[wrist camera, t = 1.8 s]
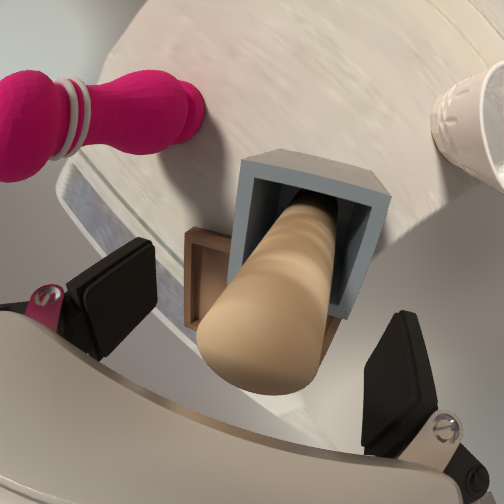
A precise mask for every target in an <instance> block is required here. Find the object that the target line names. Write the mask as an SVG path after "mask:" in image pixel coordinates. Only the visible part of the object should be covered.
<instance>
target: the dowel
mask: <svg viewBox="0 0 504 504" xmlns="http://www.w3.org/2000/svg"><path fill="white" fill-rule="evenodd" d="M337 216H338V202H337V199H336V197H335V196H332V195H328V194H324V193H320V192H316V191H312V190H308V189H304V188H301V189H300V190H299V191H298V192H297V194H296V195H295V196H294V198H293V199H292V200H291V202H290V203H289V204H288V206H287V207H286V208H285V210H284V211H283V212H282V214H281V215H280V216H279V218H278V219H277V220H276V222H275V223H274V224H273V226H272V227H271V228H270V230H269V231H268V232H267V234H266V235H265V236H264V238H263V239H262V241H261V242H260V243H259V245H258V246H257V247H256V249H255V250H254V251H253V253H252V254H251V255H250V257H249V258H248V259H247V261H246V262H245V263H244V265H243V266H242V267H241V269H240V270H239V271H238V273H237V274H236V275H235V277H234V278H233V279H232V281H231V282H230V283H229V285H228V286H227V287H226V289H225V290H224V291H223V293H222V294H221V295H220V297H219V298H218V299H217V301H216V302H215V303H214V305H213V306H212V307H211V309H210V310H209V311H208V313H207V314H206V315H205V317H204V318H203V319H202V321H201V322H200V324H199V326H198V329H197V334H196V340H197V346H198V349H199V351H200V354H201V356H202V357H203V359H204V361H205V362H206V363H207V365H208V366H209V367H210V368H211V369H212V370H213V371H214V372H215V373H216V374H217V375H219V376H220V377H221V378H223V379H224V380H225V381H227V382H229V383H230V384H232V385H234V386H236V387H238V388H240V389H243V390H246V391H249V392H252V393H256V394H261V395H273V396H275V395H286V394H290V393H294V392H297V391H299V390H301V389H303V388H305V387H306V386H307V385H309V384H310V383H311V382H312V381H313V379H314V377H315V376H316V374H317V371H318V367H319V361H320V356H321V350H322V345H323V339H324V333H325V326H326V320H327V313H328V306H329V298H330V290H331V282H332V273H333V264H334V254H335V243H336V230H337Z"/></svg>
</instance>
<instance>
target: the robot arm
mask: <svg viewBox="0 0 504 504" xmlns="http://www.w3.org/2000/svg"><path fill="white" fill-rule="evenodd" d="M66 286H67V290H68V291H67V292H66V293H64V290H63V288H62V287H60V286H58V285H54V284H50V285H45V286H42V287H40V288H38V289H37V290H36V291H35V292H34V293H33V294H32V296H31V298H30V301H27V302H18V303H8V304H0V504H496V502H495V500H494V497H493V495H492V493H491V491H490V492H488V493H487V489H488V487H489V474H488V471H487V470H486V468H485V467H484V466H483V465H482V464H481V463H480V462H479V461H478V460H477V459H476V458H475V457H474V456H473V455H472V454H471V453H470V452H469V451H468V450H467V449H466V448H465V447H464V446H463V445H462V444H461V443H460V442H461V439H462V437H463V427H462V423H461V421H460V419H459V418H458V417H457V416H456V415H455V414H454V413H453V412H451V411H449V410H438V406H437V403H438V400H437V395H436V389H435V384H434V380H433V375H432V371H431V366H430V362H429V358H428V354H427V350H426V346H425V342H424V339H423V335H422V332H421V328H420V325H419V322H418V318H417V315H416V314H415V313H412V312H409V311H405V310H401V311H400V312H399V313H395V314H394V315H393V317H392V319H391V321H390V323H389V324H388V326H387V328H386V330H385V332H384V334H383V335H382V337H381V339H380V341H379V343H378V344H377V346H376V348H375V349H374V351H373V353H372V354H371V356H370V358H369V359H368V361H367V363H366V365H365V368H364V400H363V401H364V402H363V422H362V437H361V446H363V447H365V449H364V455H357V454H350V453H343V452H336V451H331V450H326V449H320V448H315V447H309V446H305V445H300V444H296V443H291V442H287V441H283V440H279V439H275V438H272V437H268V436H265V435H261V434H257V433H254V432H251V431H248V430H245V429H241V428H239V427H236V426H233V425H230V424H227V423H224V422H221V421H218V420H215V419H213V418H211V417H208V416H205V415H203V414H200V413H198V412H195V411H193V410H191V409H188V408H186V407H184V406H181V405H179V404H177V403H175V402H172V401H170V400H168V399H166V398H164V397H161V396H159V395H157V394H156V393H153V392H152V391H149V390H148V389H146V388H144V387H142V386H140V385H138V384H136V383H134V382H132V381H131V380H129V379H127V378H125V377H123V376H122V375H120V374H118V373H117V372H115V371H113V370H111V369H110V368H108V367H106V366H105V365H103V364H102V363H100V362H99V361H100V360H101V359H102V358H103V357H107V356H108V355H109V354H110V353H111V352H112V351H113V350H114V349H115V348H116V347H117V346H118V345H119V344H120V343H121V342H122V341H123V340H124V339H125V338H126V336H127V335H128V334H129V333H130V332H131V331H132V330H133V329H134V328H135V327H136V326H137V325H138V324H139V323H140V322H141V321H142V320H143V319H144V318H145V317H146V316H147V315H148V314H149V313H150V312H151V311H152V310H153V309H154V308H155V306H156V304H157V301H158V298H157V283H156V263H155V247H154V245H152V242H151V241H150V240H147V239H144V238H141V237H137V238H135V239H133V240H132V241H130V242H128V243H127V244H125V245H124V246H122V247H120V248H119V249H117V250H116V251H114V252H112V253H111V254H109V255H108V256H106V257H105V258H103V259H102V260H100V261H99V262H97V263H96V264H94V265H93V266H91V267H90V268H88V269H87V270H85V271H84V272H82V273H81V274H79V275H78V276H76V277H75V278H73V279H72V280H71V281H69V282H68V283H66ZM87 353H88V354H89V355H87ZM365 455H373V456H365Z"/></svg>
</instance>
